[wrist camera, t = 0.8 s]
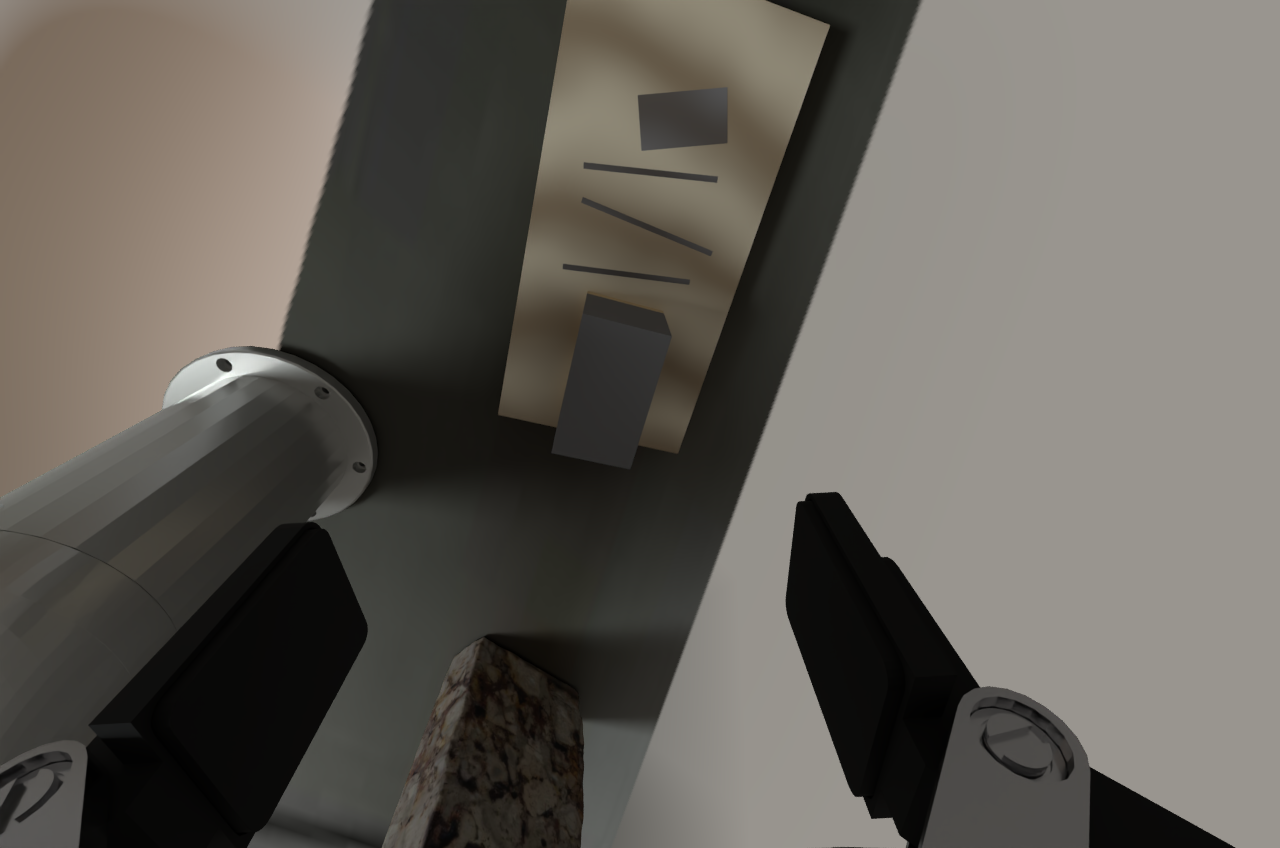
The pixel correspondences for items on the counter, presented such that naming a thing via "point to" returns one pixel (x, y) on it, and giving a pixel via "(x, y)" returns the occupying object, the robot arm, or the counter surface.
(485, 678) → the stone block
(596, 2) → the birch board
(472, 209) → the counter surface
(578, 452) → the sanding sponge
